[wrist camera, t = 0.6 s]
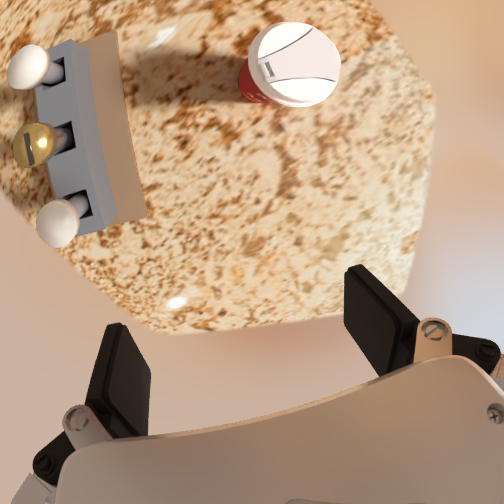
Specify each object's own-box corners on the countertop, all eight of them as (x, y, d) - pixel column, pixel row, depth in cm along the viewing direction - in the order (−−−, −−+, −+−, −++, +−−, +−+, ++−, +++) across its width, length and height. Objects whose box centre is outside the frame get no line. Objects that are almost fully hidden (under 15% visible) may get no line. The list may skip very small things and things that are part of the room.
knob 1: (45, 67, 22) (6, 57, 14) (76, 53, 22) (42, 37, 14) (48, 98, 24) (8, 96, 16) (79, 85, 24) (43, 77, 16)
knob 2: (65, 187, 29) (30, 210, 21) (96, 178, 29) (65, 198, 21) (75, 220, 31) (45, 251, 23) (105, 212, 31) (80, 242, 23)
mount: (34, 66, 24) (8, 60, 18) (117, 32, 25) (102, 16, 19) (68, 235, 36) (49, 256, 29) (148, 214, 37) (139, 233, 31)
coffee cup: (243, 120, 34) (274, 120, 21) (218, 65, 31) (235, 30, 17) (301, 99, 34) (360, 92, 21) (278, 46, 30) (326, 10, 17)
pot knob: (54, 126, 25) (8, 133, 17) (81, 115, 26) (41, 116, 17) (60, 157, 27) (16, 174, 18) (87, 147, 28) (49, 160, 19)
